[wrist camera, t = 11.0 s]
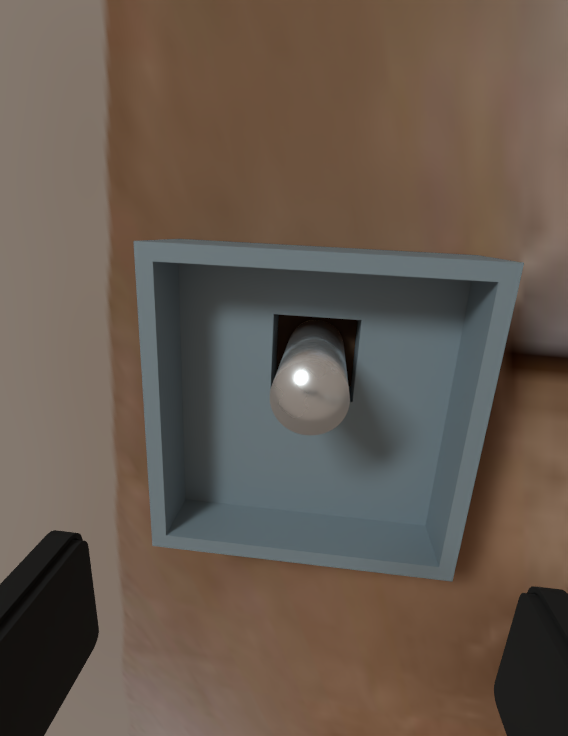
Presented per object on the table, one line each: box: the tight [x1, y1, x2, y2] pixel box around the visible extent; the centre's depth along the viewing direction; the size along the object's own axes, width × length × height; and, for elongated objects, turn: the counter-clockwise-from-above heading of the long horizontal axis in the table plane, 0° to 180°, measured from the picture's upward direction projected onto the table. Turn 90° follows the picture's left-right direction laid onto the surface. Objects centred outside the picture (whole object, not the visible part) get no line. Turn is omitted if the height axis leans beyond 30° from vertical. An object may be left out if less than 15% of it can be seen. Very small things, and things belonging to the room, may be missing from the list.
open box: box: [134, 239, 524, 581], centre depth 28 cm, size 20×20×7 cm
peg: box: [270, 320, 350, 435], centre depth 25 cm, size 4×4×10 cm
